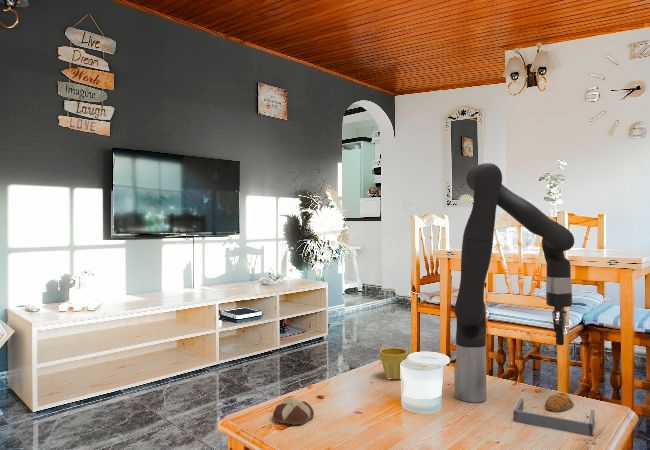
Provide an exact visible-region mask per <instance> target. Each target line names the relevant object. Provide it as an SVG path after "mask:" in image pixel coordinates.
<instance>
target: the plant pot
mask: <svg viewBox="0 0 650 450" xmlns="http://www.w3.org/2000/svg"><path fill="white" fill-rule="evenodd" d="M407 356H408V357H409V352H408V350H407V349H405V348H402V347H386V348H381V349H380V350H379V360H380V362H381V363H382V367H383V368H382V369H383V373H384V377H385V376H386V377H387V378H391V379H400V363H401V362H402V361H403V360H405V359H406V358H407ZM386 377H385V378H386ZM387 378H386V379H387ZM400 380H401V379H400Z"/></svg>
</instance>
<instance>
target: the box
mask: <svg viewBox="0 0 650 450" xmlns="http://www.w3.org/2000/svg"><path fill="white" fill-rule="evenodd" d="M523 410H524V398H519V400H518V401H517V403H516V405H515V407H514V409H513V412H512V413H513V422H516V423H523V424H527V425H533V426H537V427H544V428H548V429H552V430H556V431H557V430H558V431H563V432H568V433H574V434H579V435H583V436H584V435H585V436H589V437H592V436H593V433H594V427H595V409H590V413H589V418H588V419H589V420H588V422H585V421H578V420H574V419H569V418H563V417H556V416H551V415H545V414H540V413H535V412H529V411H523Z"/></svg>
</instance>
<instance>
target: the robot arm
mask: <svg viewBox="0 0 650 450" xmlns="http://www.w3.org/2000/svg"><path fill="white" fill-rule="evenodd" d="M465 179H466V184H467V186H468V187H469V188H470V189H471V190H472V191H473V202H472V203H473V204H472V209H471V211H470V214H469V217H468V219H467V221H466V224H465V227H464V230H463V236H462V243H461V255H460V256H461V257H460V283H459V288H458V292H457V298H456V302H455V305H454V314H455V317H456V332H455V357H456V358H455V362H456V363H455V367H454V371H453V372H454V373H453V375H454V398H455V399H458V400H460V401H463V402H468V403H483V402H485V401H486V400H487V392H488V391H487V359H486V358H487V355H486V354H487V351H486V350H487V345H486V343H487V341H486V340H487V337H486V336H487V308H486V303H485V301H484V300H485V297H484V295H485V282H486V279H487V274H488V271H489V268H490V263H491V259H492V253H493V246H494V233H495V226H496V214H497V213H496V212H497V207H499V208H501V209H502V210H503V211H504V212H505V213H507V214H508V215H510V217H512V218H513V219H514V220H516V221H517V222H518V223H519V224H520V225H521V226H523V227H524V228H526V230H528V231H529V232H530V233H532V234H533V235H536V236H539V237H541V238H542V239H541V248H542V252H543V256H544V260H545V262H546V281H545V294H546V295H545V298H546V305H547V306H549V307H554V308H553V310H552V311H551V316H552V326H553V332H554V333H555V344H556V345H557V346H563V345H564V344H565V332H566V325H567V315H568V314H567V310H566V311H565V308H570V307H572V306H573V285H572V284H573V283H572V278H571V272H572V271H571V261H570V260H569V259H567V258H566V257H565V253H564V252H567V251H569V250H571V249H572V248H573V247H574V245H575V237H574V234H573V233H572V232H571V231H570V230H569V229H568V228H567V227H565V226H563V225H562V224H561V223H558V222H557V221H555V220H553V219H551V218H549V217H548V216H547V215H546V214H545V213H544V212H542V210H541V209H539V208H538V207H537V206H536V205H534V204H532V203H531V202H530V201H528V200H526V199H525V198H523V197H521V196H520V195H518V194H517V193H515V192H513V191H512V190H510V189H508V188H507V187H506V186H505V185H504V184H502V182H503V174H502V171H501V169H500V167H499V166H498V165H496V164H495V163H491V162H487V163H479V164H476V165H474V166H472V167H471V168H469V170H468V171H467V172H466V177H465Z"/></svg>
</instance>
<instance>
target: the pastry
mask: <svg viewBox="0 0 650 450" xmlns="http://www.w3.org/2000/svg"><path fill="white" fill-rule="evenodd" d="M574 404H575V403H574V402H573V399H572V398H571V397H570V395H569V394H567V393H566V392H565V393H564V392H556V393H554V394H551V395H549V396H548V397H547V398H546V399H545V403H544V408H545V410H550V411H551V412H552V411H553V412H566V411H568V410H570V409H572V408H573V407H574Z"/></svg>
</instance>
